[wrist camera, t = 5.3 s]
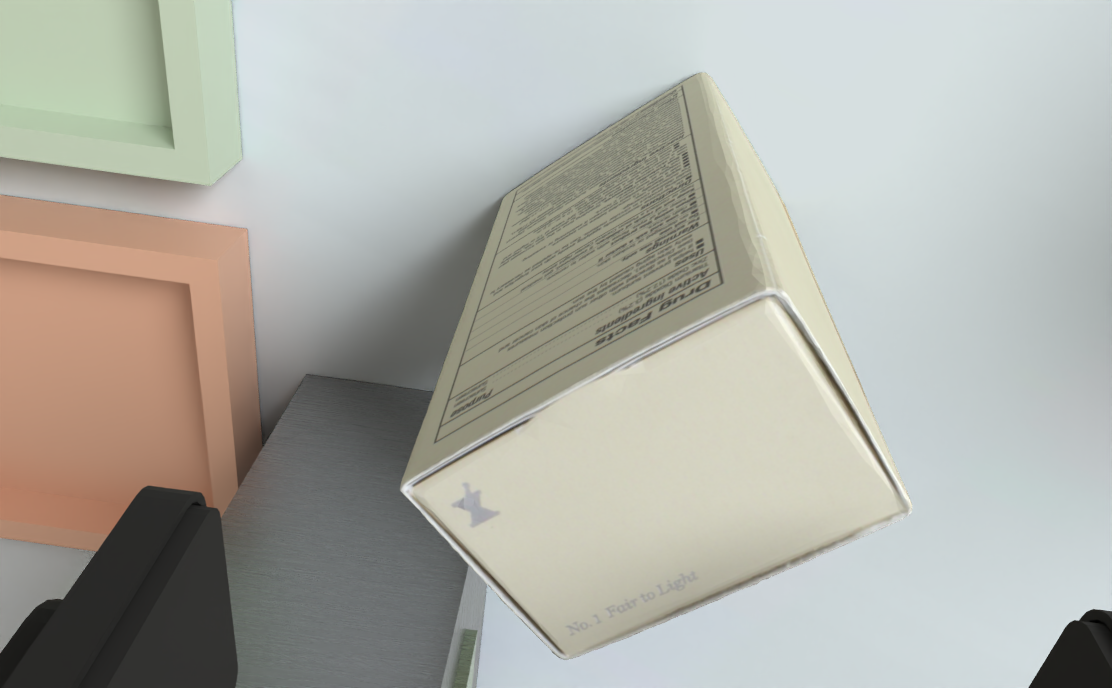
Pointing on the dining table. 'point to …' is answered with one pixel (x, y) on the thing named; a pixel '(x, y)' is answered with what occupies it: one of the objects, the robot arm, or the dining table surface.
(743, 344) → the skincare box
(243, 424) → the terracotta tray
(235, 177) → the dining table surface
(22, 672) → the robot arm
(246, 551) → the charcoal unit
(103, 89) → the sage tray
